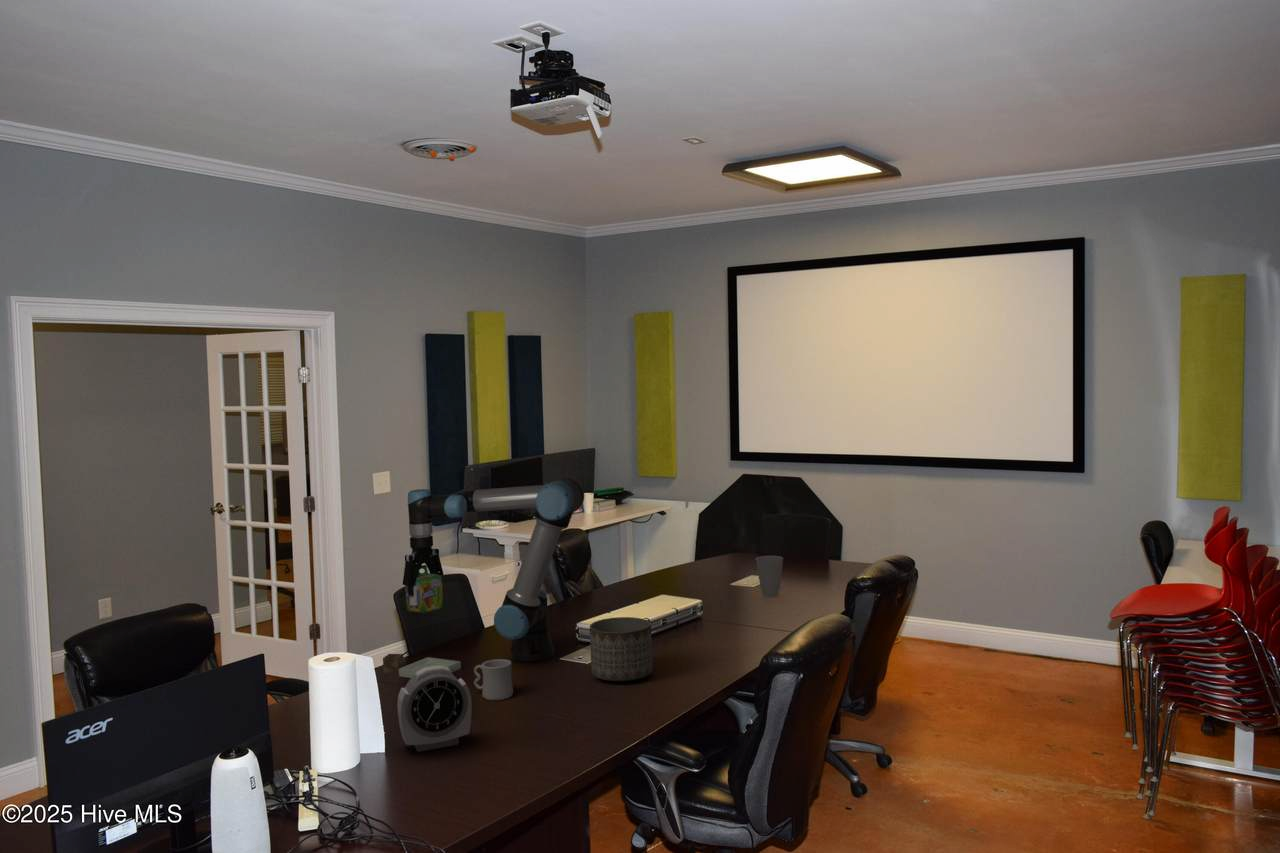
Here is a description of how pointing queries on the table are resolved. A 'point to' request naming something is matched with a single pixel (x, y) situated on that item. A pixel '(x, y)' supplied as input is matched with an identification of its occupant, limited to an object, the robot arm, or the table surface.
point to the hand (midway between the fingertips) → (424, 601)
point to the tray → (427, 662)
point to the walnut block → (393, 663)
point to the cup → (769, 574)
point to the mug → (495, 679)
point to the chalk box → (426, 592)
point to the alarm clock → (434, 709)
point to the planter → (621, 649)
